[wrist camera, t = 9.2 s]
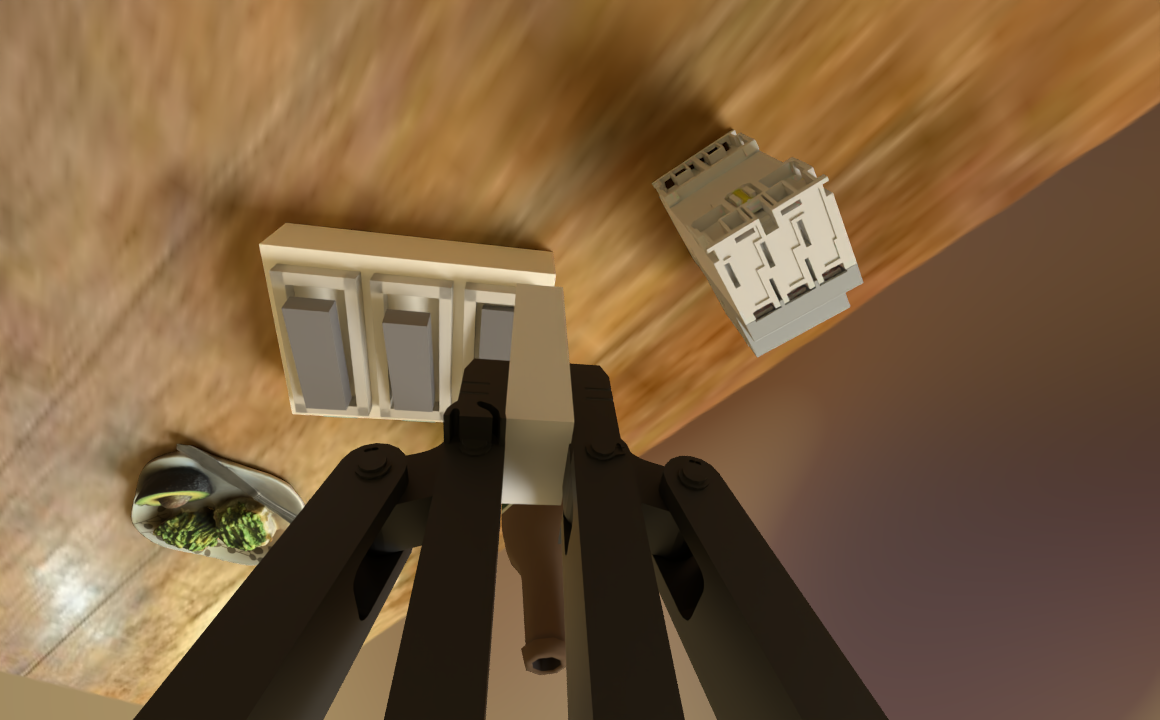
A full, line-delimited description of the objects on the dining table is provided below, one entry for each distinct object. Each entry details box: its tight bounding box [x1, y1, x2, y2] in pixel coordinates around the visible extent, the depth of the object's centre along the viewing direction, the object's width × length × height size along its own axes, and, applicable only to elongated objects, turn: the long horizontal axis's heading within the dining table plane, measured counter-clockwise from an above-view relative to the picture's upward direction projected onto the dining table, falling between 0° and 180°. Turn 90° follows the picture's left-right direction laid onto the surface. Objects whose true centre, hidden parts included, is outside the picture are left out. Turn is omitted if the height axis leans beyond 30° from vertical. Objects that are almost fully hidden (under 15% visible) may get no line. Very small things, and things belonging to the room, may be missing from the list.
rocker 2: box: [382, 309, 435, 412], centre depth 41 cm, size 10×3×2 cm, turn 172°
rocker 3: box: [479, 305, 514, 361], centre depth 42 cm, size 10×3×2 cm, turn 171°
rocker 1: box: [281, 296, 352, 410], centre depth 40 cm, size 10×3×2 cm, turn 172°
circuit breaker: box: [652, 130, 863, 357], centre depth 39 cm, size 8×14×15 cm, turn 33°
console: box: [259, 223, 556, 422], centre depth 45 cm, size 16×22×6 cm
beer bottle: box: [502, 496, 566, 675], centre depth 47 cm, size 8×8×24 cm
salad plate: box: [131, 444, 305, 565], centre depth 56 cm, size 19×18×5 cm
